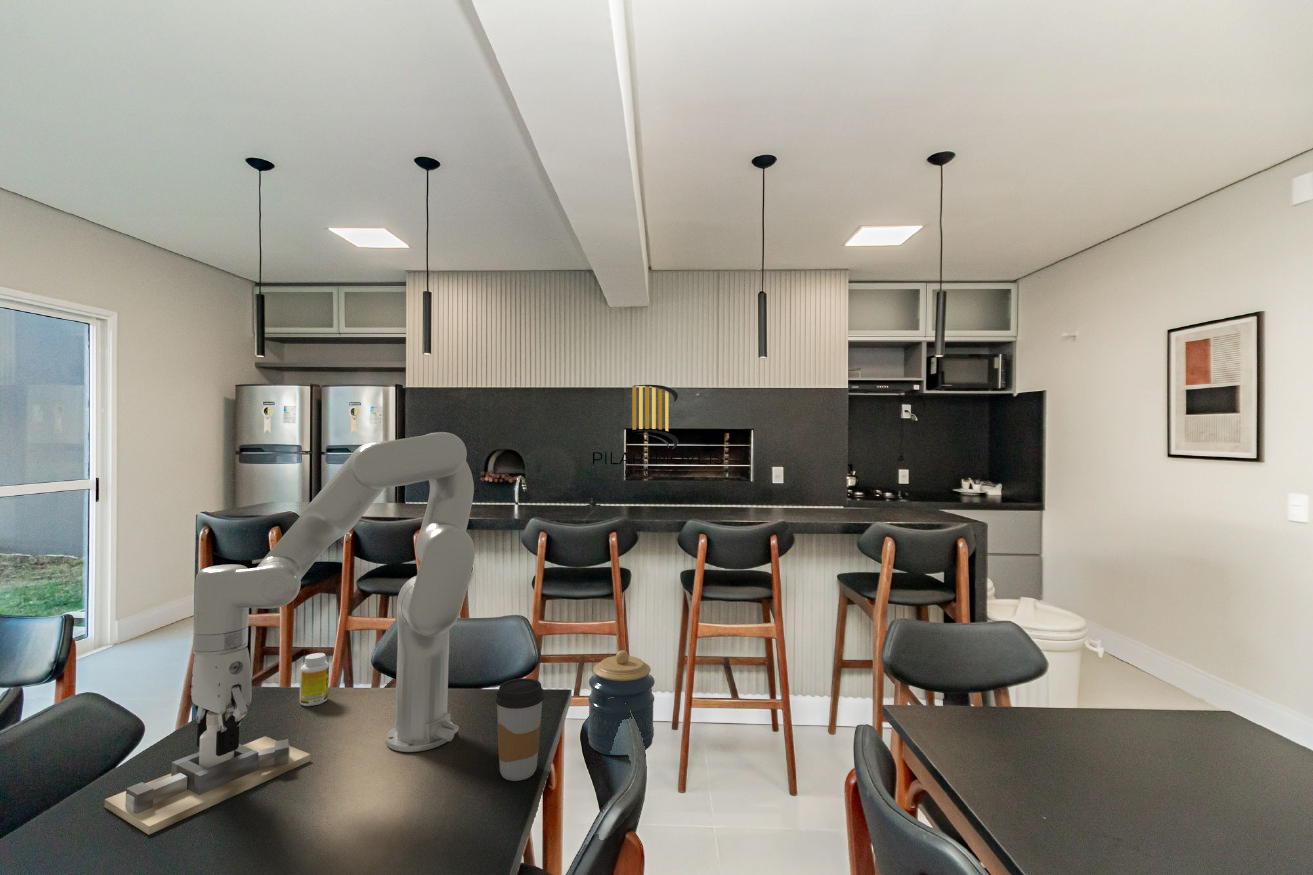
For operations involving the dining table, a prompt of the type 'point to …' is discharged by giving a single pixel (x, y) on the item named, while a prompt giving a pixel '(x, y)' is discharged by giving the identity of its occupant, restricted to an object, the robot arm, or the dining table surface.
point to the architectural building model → (203, 784)
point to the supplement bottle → (314, 680)
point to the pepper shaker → (211, 743)
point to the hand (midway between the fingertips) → (217, 746)
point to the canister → (620, 700)
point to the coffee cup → (519, 727)
